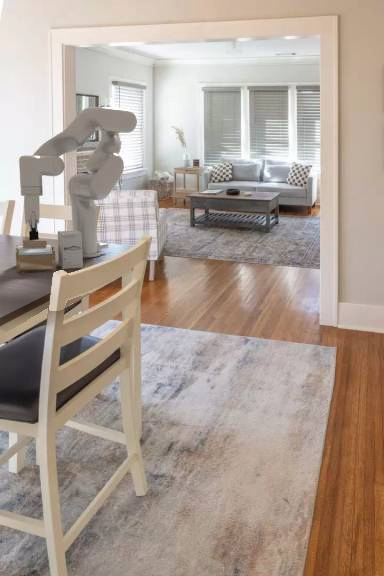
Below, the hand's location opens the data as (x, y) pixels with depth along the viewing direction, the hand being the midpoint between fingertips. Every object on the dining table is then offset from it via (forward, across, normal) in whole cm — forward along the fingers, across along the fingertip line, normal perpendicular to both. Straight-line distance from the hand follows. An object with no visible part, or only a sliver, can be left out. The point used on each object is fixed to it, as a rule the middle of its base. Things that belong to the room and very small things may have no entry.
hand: (34, 242), depth 208 cm
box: (+8, +7, 0) cm, 11 cm away
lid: (+2, +7, 0) cm, 8 cm away
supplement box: (+8, +7, +12) cm, 16 cm away
